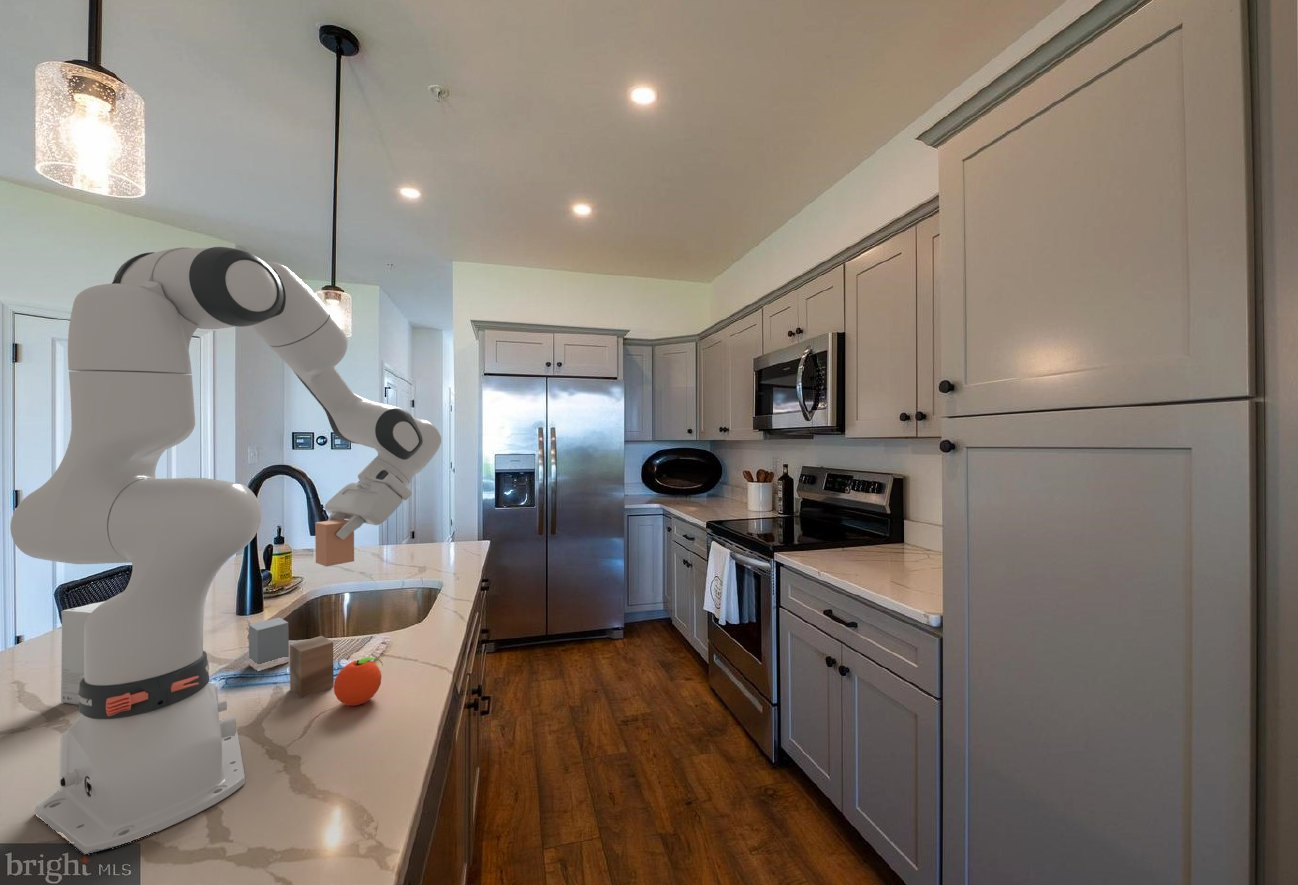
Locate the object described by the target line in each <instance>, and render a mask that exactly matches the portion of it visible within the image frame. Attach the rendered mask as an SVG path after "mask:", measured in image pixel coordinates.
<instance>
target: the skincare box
mask: <svg viewBox="0 0 1298 885" xmlns="http://www.w3.org/2000/svg"><path fill="white" fill-rule="evenodd" d="M105 601H106V600H104V601H100V602H94V603H89V604H86V605H82V606H77V607H73V608H68V609H64V610H62V611H61V612H60V614H61V676H60V677H61V680H60V682H61V685H60V686H61V688H60V703H64V704H70V705H76V706H77V705H78V706H79V701H78V691H79V685H80V681H81V680H82V679H83V678H84V625H85V622H86V620H87V618H88V616H89V615H90V614H91V613H92V612H93V611H94V610H95V609H96V608H97V607H98V606H99V605H101V604H102V603H104V602H105Z"/></svg>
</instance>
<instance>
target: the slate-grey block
mask: <svg viewBox="0 0 1298 885" xmlns="http://www.w3.org/2000/svg"><path fill="white" fill-rule="evenodd" d="M289 635H290V634H289V622H288V621H287V620H285V619H283V618H281V617H276V618H271V619H268V620H263V621H260V622H259V621H258V622H255V623H252V624H251V623H250V624H249V625H248V659H249V658H250V659H252V660H253V661H254V662H255V663H257V664H262V663H265V662H268V661H272V660H275V659H278V658H282V657H289V658H290V644H289Z"/></svg>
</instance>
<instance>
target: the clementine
mask: <svg viewBox="0 0 1298 885" xmlns="http://www.w3.org/2000/svg"><path fill="white" fill-rule="evenodd" d="M372 660H377V661H379V662H380V663H381V665H382V666H384V665H383V662H382V660H381V659H378V658H375V657H366V658H361V659H356V660H353V661H351V662H349V663H348V664H346V665H345V666H344V667H342V668H341V670H340V671H339V672H338V673H337V675H336V678H335V680H334V687H333V692H334V693H333V694H334V695H335V697H336V699H337V701H339V702H340V703H341V704H343V705H347V706H353V707H355V706H359V705H362V704H364V703H367V702H368V701H369V700H371V699H372V698H373V697H374V696H375V695H376V693H377V692H378V691H379V688H380V687H381V684H382V671H381V669H380V667H378V665H377V664H376V663H375V662H373V661H372Z"/></svg>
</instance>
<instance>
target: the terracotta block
mask: <svg viewBox="0 0 1298 885" xmlns="http://www.w3.org/2000/svg"><path fill="white" fill-rule="evenodd" d="M349 521H350V520H347V519H340V520H331V521H328V520H324V521H317V522H314V524H315V526H314V528H315V531H314V532H315V537H314V538H315V539H314V540H315V543H314V544H315V564H318V565H321V566H324V567H331V566H336V565H342V564H347V563H352V562H355V530H354V531H353V532H351V533H350V534H349V535H348V536H347V537H346V538H345V539H340V538H338V537H337V536H335V534H334V533H335V532H336V531H337V530H338V529H339V528H340V527H343V526H344V525H345V524H346V523H347V522H349Z"/></svg>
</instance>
